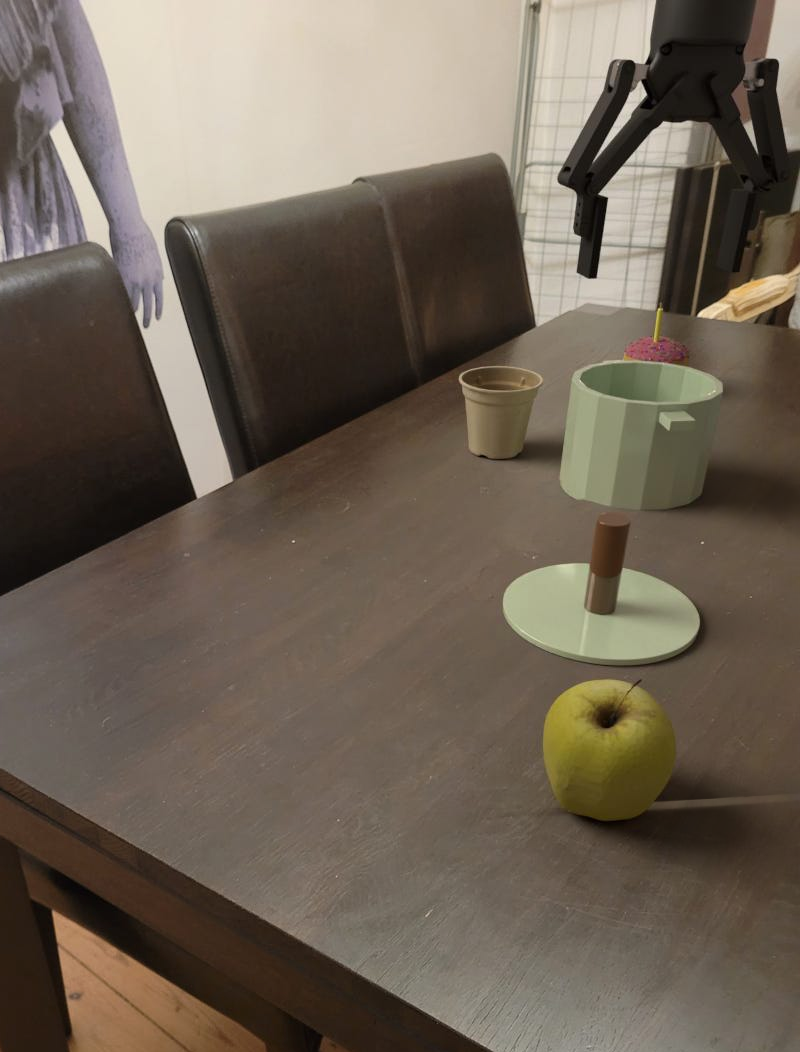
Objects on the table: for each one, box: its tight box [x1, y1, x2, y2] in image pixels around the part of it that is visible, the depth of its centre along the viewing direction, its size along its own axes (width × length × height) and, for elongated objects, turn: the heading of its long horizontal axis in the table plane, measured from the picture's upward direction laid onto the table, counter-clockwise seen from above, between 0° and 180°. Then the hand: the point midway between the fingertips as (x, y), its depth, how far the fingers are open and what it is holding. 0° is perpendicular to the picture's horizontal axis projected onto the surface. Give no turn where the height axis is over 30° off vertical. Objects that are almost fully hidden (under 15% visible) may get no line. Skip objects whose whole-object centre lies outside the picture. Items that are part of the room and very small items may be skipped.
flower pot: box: [458, 365, 544, 460], centre depth 111 cm, size 9×9×9 cm
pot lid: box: [501, 512, 701, 667], centre depth 77 cm, size 16×16×9 cm
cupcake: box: [622, 302, 691, 367], centre depth 128 cm, size 9×8×12 cm
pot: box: [559, 359, 724, 511], centre depth 100 cm, size 15×20×12 cm
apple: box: [542, 678, 677, 822], centre depth 58 cm, size 8×8×10 cm
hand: (657, 273), depth 86 cm, fingers open, 13 cm apart
